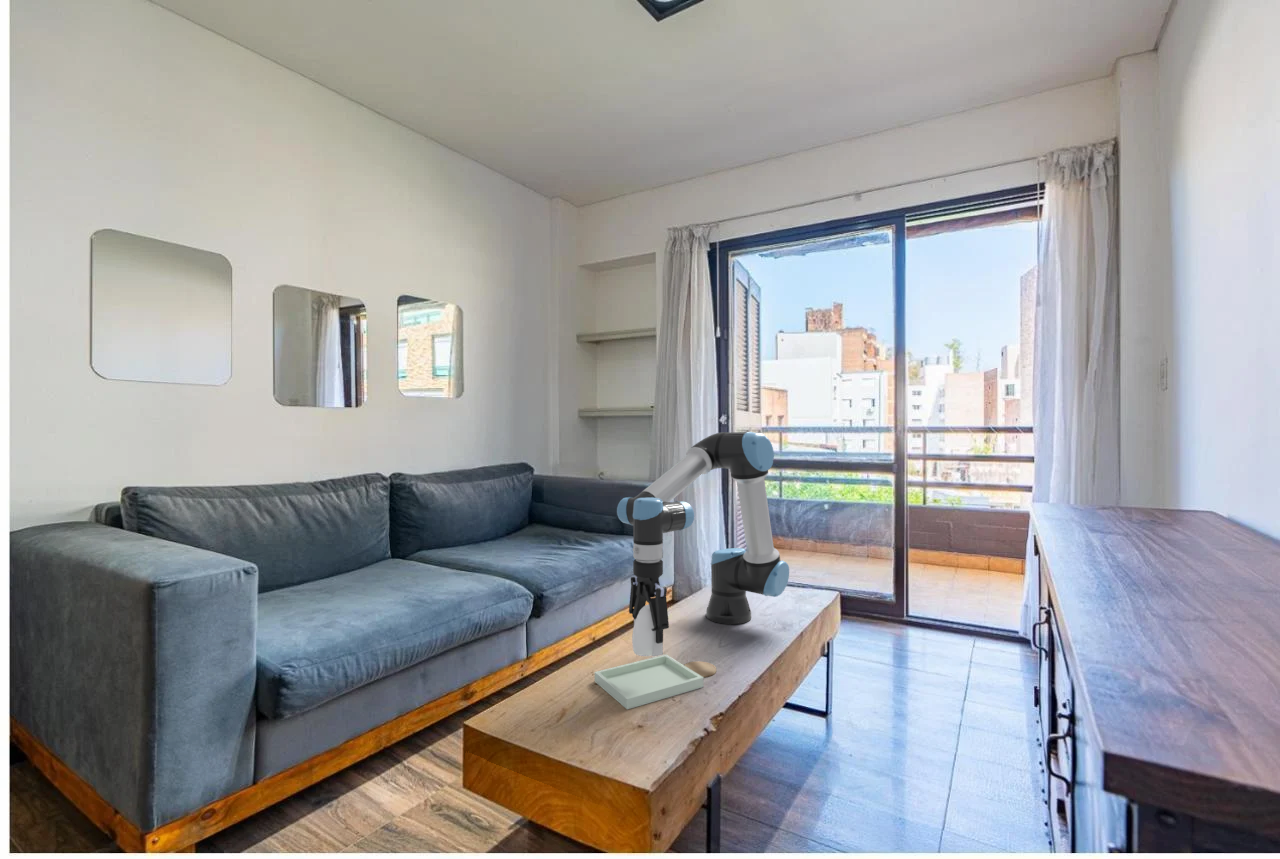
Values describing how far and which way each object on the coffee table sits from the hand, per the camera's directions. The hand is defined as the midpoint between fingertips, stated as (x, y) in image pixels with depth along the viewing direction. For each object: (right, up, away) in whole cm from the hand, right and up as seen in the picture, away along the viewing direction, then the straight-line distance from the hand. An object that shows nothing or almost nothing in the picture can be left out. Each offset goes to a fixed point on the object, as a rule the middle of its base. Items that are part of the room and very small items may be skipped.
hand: (648, 649), depth 144 cm
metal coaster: (+14, -9, +8) cm, 18 cm away
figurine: (0, -1, 0) cm, 1 cm away
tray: (0, -9, 0) cm, 9 cm away
